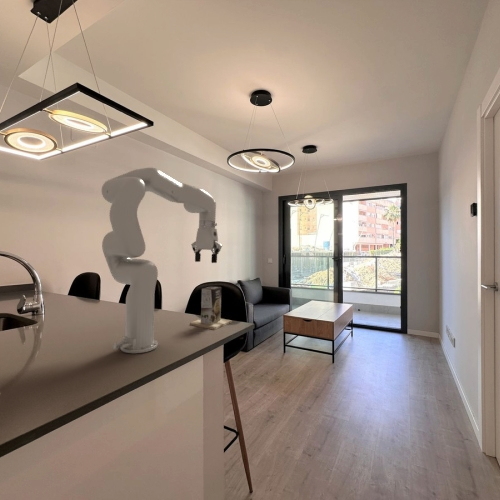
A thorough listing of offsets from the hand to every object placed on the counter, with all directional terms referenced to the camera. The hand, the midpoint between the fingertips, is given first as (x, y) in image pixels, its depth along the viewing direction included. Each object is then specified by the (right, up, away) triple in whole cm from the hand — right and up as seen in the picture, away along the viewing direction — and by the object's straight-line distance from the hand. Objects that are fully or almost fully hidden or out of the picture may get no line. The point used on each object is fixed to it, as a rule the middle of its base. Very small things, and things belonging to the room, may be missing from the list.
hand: (205, 262), depth 135 cm
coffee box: (+2, -28, +1) cm, 29 cm away
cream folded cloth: (+2, -29, +2) cm, 29 cm away
